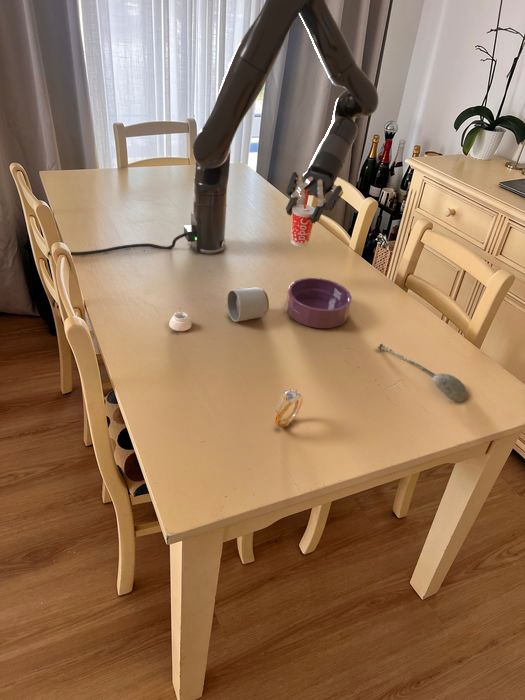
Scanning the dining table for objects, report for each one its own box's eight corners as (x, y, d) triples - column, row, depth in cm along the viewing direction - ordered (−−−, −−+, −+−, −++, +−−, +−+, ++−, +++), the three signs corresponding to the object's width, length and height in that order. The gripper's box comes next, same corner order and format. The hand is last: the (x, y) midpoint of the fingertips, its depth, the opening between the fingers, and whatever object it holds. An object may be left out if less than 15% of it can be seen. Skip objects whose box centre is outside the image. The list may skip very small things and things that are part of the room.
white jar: (195, 326, 118) (180, 317, 121) (196, 315, 117) (180, 307, 119) (179, 335, 115) (164, 325, 118) (179, 324, 113) (164, 315, 116)
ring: (292, 411, 99) (297, 380, 94) (304, 420, 97) (310, 389, 93) (266, 428, 95) (271, 396, 90) (279, 438, 93) (284, 406, 88)
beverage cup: (286, 245, 130) (293, 191, 122) (289, 235, 135) (296, 183, 127) (310, 249, 130) (318, 195, 121) (312, 239, 135) (320, 187, 126)
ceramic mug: (269, 321, 123) (272, 293, 118) (238, 328, 119) (240, 299, 115) (249, 300, 130) (252, 272, 126) (220, 305, 127) (221, 277, 122)
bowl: (302, 334, 120) (306, 314, 117) (275, 300, 131) (278, 281, 128) (358, 324, 126) (363, 305, 122) (328, 292, 137) (331, 274, 133)
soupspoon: (455, 409, 105) (470, 397, 109) (462, 397, 103) (476, 385, 107) (370, 353, 116) (386, 344, 120) (374, 341, 114) (391, 332, 118)
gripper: (300, 143, 127) (271, 202, 126) (353, 157, 122) (323, 219, 121) (307, 160, 134) (279, 216, 133) (357, 174, 129) (329, 233, 128)
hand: (300, 217), depth 127 cm, fingers closed on beverage cup, 6 cm apart
